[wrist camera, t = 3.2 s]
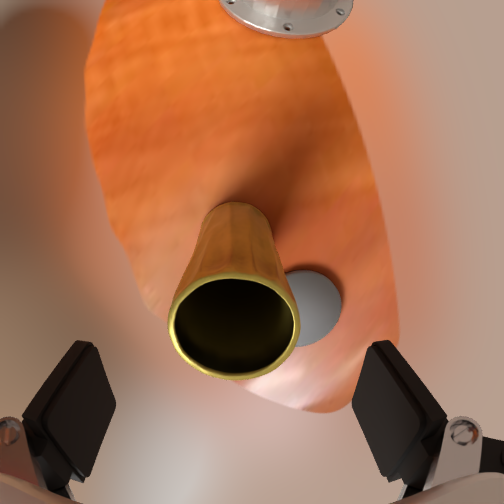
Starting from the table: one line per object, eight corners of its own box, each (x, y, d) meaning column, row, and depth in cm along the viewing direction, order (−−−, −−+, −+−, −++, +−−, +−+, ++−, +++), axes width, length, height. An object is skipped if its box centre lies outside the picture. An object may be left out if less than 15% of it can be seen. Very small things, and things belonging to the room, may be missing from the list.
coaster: (258, 270, 25) (259, 273, 24) (344, 269, 26) (346, 272, 25) (256, 343, 28) (256, 348, 27) (332, 339, 28) (334, 344, 27)
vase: (193, 208, 23) (135, 274, 10) (265, 195, 23) (306, 244, 10) (208, 275, 25) (182, 394, 12) (276, 264, 25) (316, 375, 12)
